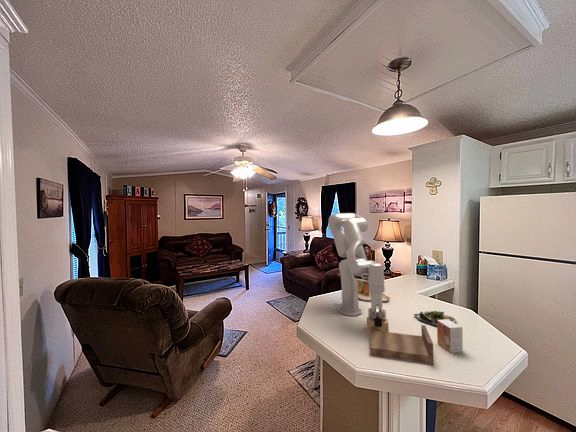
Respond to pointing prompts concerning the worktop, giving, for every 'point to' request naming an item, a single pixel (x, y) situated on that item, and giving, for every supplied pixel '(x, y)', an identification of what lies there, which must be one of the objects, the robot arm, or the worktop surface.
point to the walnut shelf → (403, 346)
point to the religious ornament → (366, 291)
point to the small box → (450, 336)
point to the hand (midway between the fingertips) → (378, 322)
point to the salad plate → (433, 317)
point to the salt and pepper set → (372, 324)
